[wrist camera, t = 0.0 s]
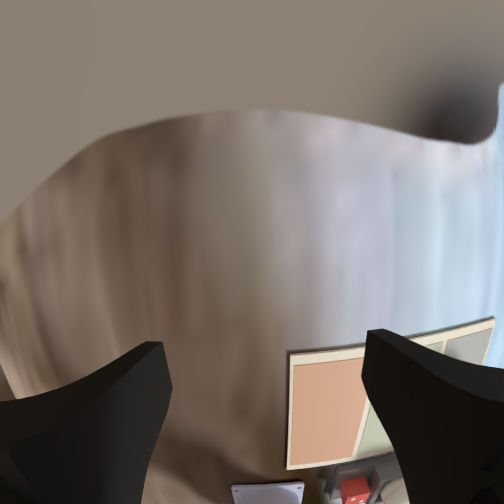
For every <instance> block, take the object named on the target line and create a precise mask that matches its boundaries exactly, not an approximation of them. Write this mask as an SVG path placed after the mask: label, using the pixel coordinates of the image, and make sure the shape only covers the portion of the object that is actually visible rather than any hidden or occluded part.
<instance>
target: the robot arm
mask: <svg viewBox="0 0 504 504" xmlns="http://www.w3.org/2000/svg"><path fill="white" fill-rule="evenodd" d="M361 379H362V382H363V385H364V388H365V391H366V394H367V397H368V399H369V401H370V403H371V405H372V407H373V409H374V411H375V413H376V415H377V417H378V418H379V420H380V422H381V424H382V426H383V428H384V430H385V432H386V434H387V436H388V438H389V440H390V442H391V444H392V446H393V449H394V451H395V454H396V457H397V460H398V463H399V466H400V469H401V472H402V476H403V479H404V483H405V486H406V490H407V495H408V499H409V504H504V369H502V368H495V367H488V366H483V365H478V364H474V363H470V362H466V361H462V360H459V359H456V358H453V357H450V356H447V355H444V354H442V353H439V352H437V351H434V350H432V349H429V348H427V347H425V346H422V345H420V344H418V343H416V342H414V341H411V340H409V339H407V338H405V337H403V336H400V335H398V334H396V333H394V332H391V331H389V330H386V329H376V330H369V331H367V337H366V345H365V353H364V359H363V366H362V372H361ZM172 388H173V387H172V383H171V378H170V374H169V370H168V365H167V361H166V356H165V351H164V347H163V342H153V341H146V342H144V343H142V344H140V345H139V346H137V347H135V348H133V349H132V350H130V351H129V352H127V353H125V354H124V355H122V356H121V357H119V358H117V359H116V360H114V361H113V362H111V363H109V364H108V365H106V366H104V367H102V368H101V369H99V370H97V371H95V372H93V373H91V374H90V375H88V376H86V377H84V378H82V379H80V380H78V381H76V382H73V383H71V384H68V385H66V386H64V387H61V388H58V389H55V390H52V391H49V392H46V393H42V394H39V395H35V396H31V397H27V398H22V399H16V400H10V401H1V402H0V504H141V499H142V493H143V487H144V482H145V477H146V473H147V468H148V464H149V460H150V457H151V454H152V451H153V449H154V446H155V443H156V441H157V438H158V435H159V433H160V430H161V427H162V425H163V422H164V419H165V416H166V414H167V411H168V407H169V403H170V398H171V393H172ZM231 489H232V494H233V498H234V502H235V504H301V501H302V495H303V489H304V482H301V481H299V482H289V483H277V484H257V485H233V486H232V487H231Z"/></svg>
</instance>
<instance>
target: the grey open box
mask: <svg viewBox="0 0 504 504" xmlns="http://www.w3.org/2000/svg"><path fill="white" fill-rule="evenodd" d="M402 477H403V476H402V472H401V469H400V466H399V463H398V460H397V457H396V454H395V453H392V454H388V455H384V456H381V457H377V458H373V459H368V460H364V461H360V462H355V463H350V464H345V465H340V466H337V468H336V472H335V476H334V479H333V483H332V486H331V489H330V493H329V496H330V500H332V499H338V498H341V499H342V503H343V504H360V503H364V502H365V503H366V504H381V503H383V500H382V497H381V495H380V491H381V489H382V488H383V486H384V484H385V482H389V481H392V480H395V479H399V478H402Z"/></svg>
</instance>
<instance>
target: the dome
mask: <svg viewBox="0 0 504 504" xmlns="http://www.w3.org/2000/svg"><path fill="white" fill-rule="evenodd" d="M380 495H381V497H382V500H383V503H384V504H409V499H408V495H407V490H406V486H405V483H404V479H403V477H402V478H399V479H395V480H392V481H389V482H385V484H384V486H383V488H382V489H381V491H380Z"/></svg>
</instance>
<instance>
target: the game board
mask: <svg viewBox="0 0 504 504" xmlns="http://www.w3.org/2000/svg"><path fill="white" fill-rule="evenodd" d="M495 322H496V318H492V319H489V320H485V321H481V322H478V323H474V324H470V325H466V326H463V327H459V328H454V329H450V330H446V331H442V332H437V333H433V334H428V335H423V336H418V337H413V338H408V339H409V340H411V341H414V342H416V343H418V344H420V345H422V346H425V347H427V348H429V349H432V350H434V351H437V352H439V353H442V354H444V355H447V356H450V357H453V358H456V359H459V360H462V361H466V362H470V363H474V364H478V365H483V363H484V360H485V357H486V354H487V351H488V347H489V344H490V341H491V337H492V334H493V330H494V326H495ZM364 353H365V346H359V347H352V348H344V349H336V350H327V351H317V352H307V353H295V354H290V384H289V423H288V449H287V470H291V469H301V468H310V467H317V466H324V465H330V464H336V463H342V462H347V461H352V460H357V459H362V458H366V457H370V456H375V455H379V454H382V453H386V452H390V451H393V450H394V449H393V446H392V444H391V442H390V440H389V438H388V436H387V434H386V432H385V430H384V428H383V426H382V424H381V422H380V420H379V418H378V417H377V415H376V413H375V411H374V409H373V407H372V405H371V403H370V401H369V399H368V397H367V394H366V391H365V388H364V385H363V382H362V379H361V372H362V366H363V359H364Z"/></svg>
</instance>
